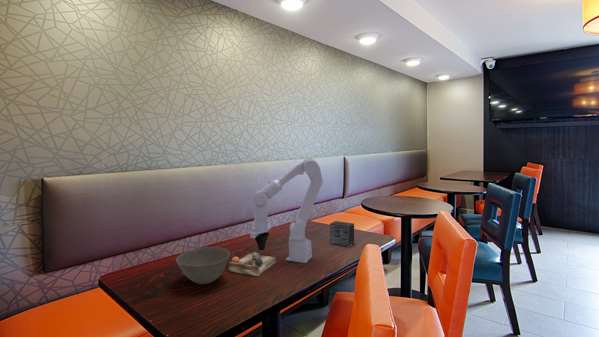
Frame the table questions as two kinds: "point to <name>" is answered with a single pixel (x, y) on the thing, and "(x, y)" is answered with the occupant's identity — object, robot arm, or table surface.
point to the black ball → (258, 262)
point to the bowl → (203, 263)
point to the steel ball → (255, 255)
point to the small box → (342, 233)
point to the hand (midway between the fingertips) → (261, 249)
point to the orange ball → (235, 259)
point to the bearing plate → (251, 265)
